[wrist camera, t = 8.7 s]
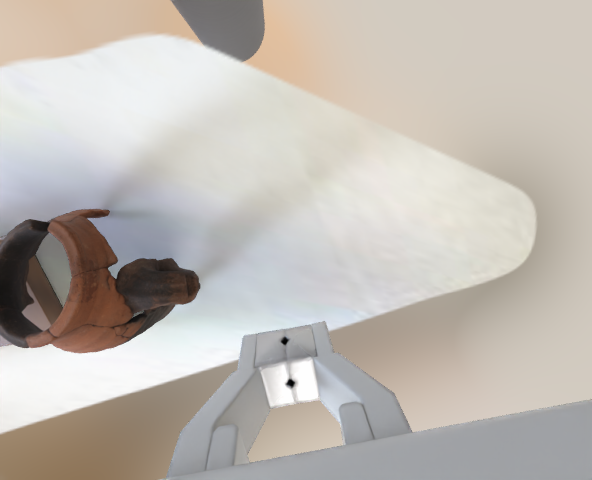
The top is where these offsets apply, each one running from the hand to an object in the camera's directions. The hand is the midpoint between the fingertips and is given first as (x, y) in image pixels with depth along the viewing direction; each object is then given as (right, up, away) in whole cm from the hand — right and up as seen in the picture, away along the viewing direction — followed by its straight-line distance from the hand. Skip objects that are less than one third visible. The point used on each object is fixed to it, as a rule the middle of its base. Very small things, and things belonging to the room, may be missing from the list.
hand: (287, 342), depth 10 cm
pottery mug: (-12, +2, +11) cm, 17 cm away
